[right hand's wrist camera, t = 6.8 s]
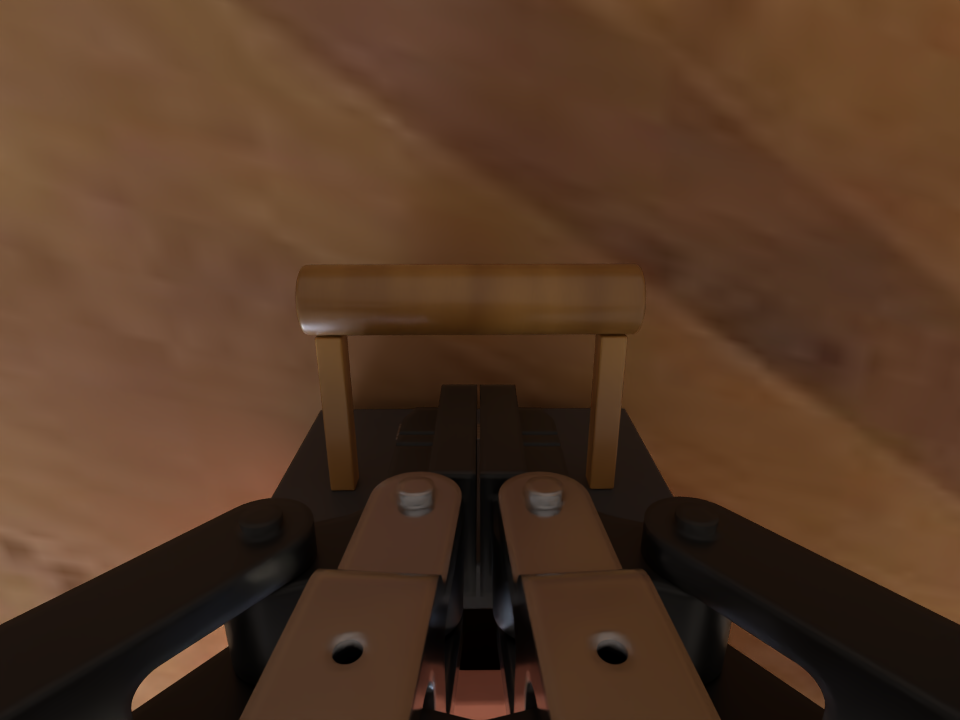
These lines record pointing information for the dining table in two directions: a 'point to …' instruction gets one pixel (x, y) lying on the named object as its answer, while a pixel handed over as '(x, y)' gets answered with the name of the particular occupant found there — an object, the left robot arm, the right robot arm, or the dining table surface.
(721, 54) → the dining table surface
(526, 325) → the drawer
